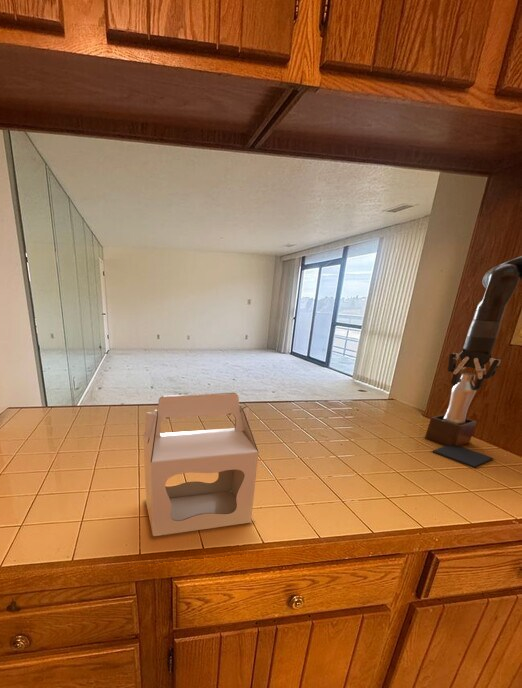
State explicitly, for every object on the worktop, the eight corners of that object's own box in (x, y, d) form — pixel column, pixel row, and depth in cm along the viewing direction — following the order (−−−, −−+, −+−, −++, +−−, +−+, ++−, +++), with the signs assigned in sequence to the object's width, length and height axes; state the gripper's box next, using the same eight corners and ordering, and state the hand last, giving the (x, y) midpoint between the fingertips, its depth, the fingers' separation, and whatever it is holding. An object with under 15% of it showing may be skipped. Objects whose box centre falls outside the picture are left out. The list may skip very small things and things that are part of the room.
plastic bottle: (439, 425, 125) (456, 371, 117) (462, 430, 121) (481, 373, 114) (438, 431, 120) (455, 374, 112) (462, 435, 116) (481, 377, 109)
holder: (440, 433, 128) (447, 412, 125) (469, 442, 121) (477, 421, 118) (424, 438, 124) (431, 417, 120) (453, 448, 116) (461, 426, 113)
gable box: (232, 491, 88) (240, 384, 77) (252, 522, 76) (265, 401, 65) (144, 501, 83) (140, 388, 72) (151, 537, 71) (147, 408, 60)
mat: (451, 445, 118) (452, 443, 118) (492, 459, 109) (493, 457, 109) (432, 452, 113) (432, 450, 113) (474, 467, 103) (474, 466, 103)
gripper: (515, 337, 104) (495, 391, 111) (462, 332, 116) (447, 381, 122) (504, 338, 101) (484, 394, 107) (450, 333, 112) (436, 384, 119)
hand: (465, 387), depth 115 cm, fingers closed on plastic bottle, 5 cm apart
